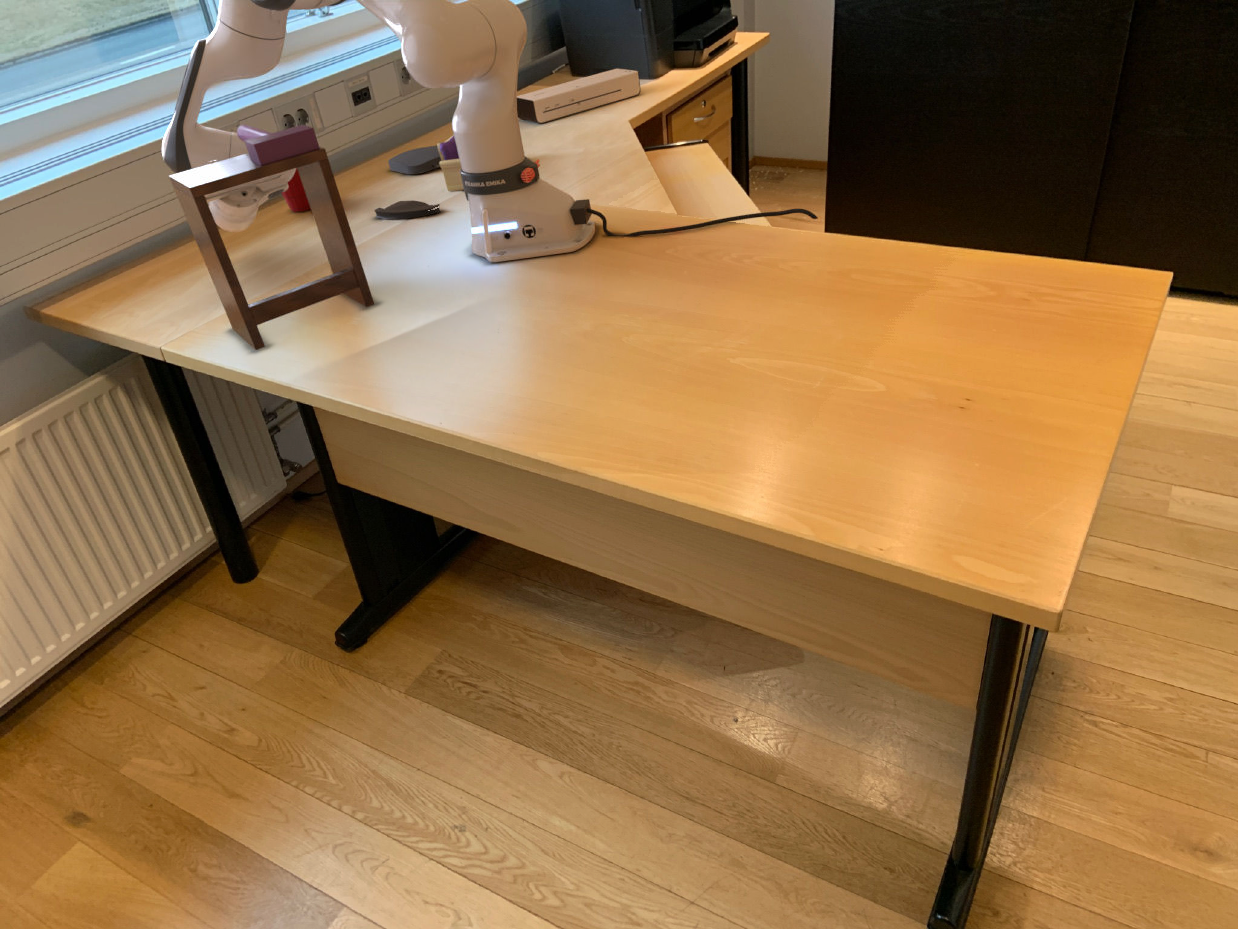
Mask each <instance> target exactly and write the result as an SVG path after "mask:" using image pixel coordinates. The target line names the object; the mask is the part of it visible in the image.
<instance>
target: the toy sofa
mask: <svg viewBox="0 0 1238 929" xmlns="http://www.w3.org/2000/svg"><path fill="white" fill-rule="evenodd" d="M436 146H437V147H438V151H439V154H440V157H441V160H442V161H440V167H439V168H441V170H442V175H443V177H444V178H443V179H444V181H445V185H446V190H447V191H448V192H456V191H464V189H463V185H462V179H461V174H460V170H461V168H462V167H461V163H460V159H459V155H458V150H457V146H456V142H455V138H454V134H452V135H451V136H450V137H449V138H448V139H446V140H445V141H444V142H442V141H440V142H438V143H437V145H436Z"/></svg>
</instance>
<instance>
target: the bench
mask: <svg viewBox="0 0 1238 929" xmlns="http://www.w3.org/2000/svg"><path fill="white" fill-rule="evenodd" d="M319 147H320V149H317V150H313V151H310V152H306V153H303V154H299V155H296V156H293V157H289V158H286V159H282V160H279V161H276V162H272V163H269V164H265V165H262V166H261V165H259V164H256V163H254V162H252V161H251V158H250V156H249V153H248V154H244V155H240V156H237V157H233V158H230V159H226V160H223V161H219V162H216V163H212V164H209V165H205V166H202V167H198V168H195V169H191V170H188V171H184V172H181V173H177V174H175V173H174V174H170V175H168V178H169V181H170V184H171V185H172V188H173V190H174V193H175V194H176V197H177V200H178V202H179V204H180V207H181V209H182V212H183V214H184V216H185V219H186V221H187V223H188V225H189V228H190V230H191V233H192V235H193V237H194V240H195V242H196V245H197V247H198V249H199V252H200V254H201V256H202V260H203V262H204V263H205V266H206V269H207V271H208V273H209V276H210V278H211V281H212V283H213V285H214V287H215V290H216V293H217V295H218V297H219V299H220V302H221V304H222V306H223V309H224V311H225V314H226V316H227V319H228V321H229V323H230V327H231V328H232V330H233V332H235V333H236V334H237V335H238V336H239V337H241V338H242V339H243V340H244V341H245V342H246V343H247V344H248V345H250V346H251V348H252V349H254V350H255V351H257V350H260V349H263V348H265V347H266V345H265V342H264V339H263V337H262V335H261V333H260V330H259V328H258V326H259V325H261V324H265V323H267V322H270V321H273V320H275V319H278V318H281V317H283V316H285V315H288V314H291V313H294V312H296V311H299V310H302V309H305V308H307V307H310V306H312V305H315V304H318V303H321V302H324V301H327V300H329V299H331V298H334V297H336V296H339V295H342V294H344V295H345V296H347V297H348V298H350V299H352V300H353V301H355V302H357V303H358V304H360V305H361V306H363V307H364V308H369V307H372V306H375V301H374V298H373V295H372V292H371V289H370V285H369V282H368V279H367V276H366V273H365V270H364V267H363V264H362V261H361V260H362V259H361V257H360V254H359V251H358V247H357V245H356V241H355V239H354V236H353V232H352V229H351V226H350V223H349V220H348V217H347V214H346V210H345V207H344V204H343V201H342V197H341V194H340V192H339V188H338V185H337V182H336V179H335V176H334V172H333V170H332V167H331V163H330V160H329V156H328V154H327V151H326V148H325V147H322V146H319ZM295 168H297V169H298V172H299V175H300V178H301V181H302V184H303V187H304V190H305V193H306V196H307V199H308V202H309V205H310V208H311V209H310V210H311V214H312V216H313V219H314V222H315V225H316V228H317V231H318V233H319V237H320V240H321V243H322V246H323V249H324V252H325V254H326V258H327V261H328V263H329V266H330V269H331V273H332V274H328V275H326V276H323V277H320V278H318V279H314V280H313V281H309V282H307V283H304V284H301V285H298V286H296V287H293V288H289V289H287V290H285V291H281V292H279V293H276V294H273V295H271V296H267V297H264V298H262V299H260V300H257V301H254V302H252V303H249V302H248V300H247V298H246V295H245V292H244V290H243V288H242V285H241V283H240V280H239V277H238V275H237V273H236V269H235V268H234V266H233V263H232V260H231V257H230V255H229V253H228V251H227V248H226V246H225V243H224V240H223V239H222V235H221V233H220V231H219V228H218V225H217V224H216V223H215V221H214V218H213V216H212V213H211V211H210V208H209V202H207V201H206V198H205V196H204V195H208V194H211V193H214V192H218V191H221V190H224V189H228V188H231V187H234V186H238V185H241V184H244V183H248V182H251V181H254V180H258V179H261V178H264V177H268V176H271V175H274V174H278V173H281V172H285V171H288V170H291V169H295Z"/></svg>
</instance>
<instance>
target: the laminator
mask: <svg viewBox="0 0 1238 929" xmlns="http://www.w3.org/2000/svg"><path fill="white" fill-rule="evenodd" d="M640 93H641V81H640V73H639V71H638V70H633V69H627V68H626V69H625V68H618V67H617V68H614V69H610V70H606V71H602V72H599V73H596V74H592V75H589V76H584V77H581V78H577V79H573V80H570V81H566V82H563V83H560V84H556V85H552V86H549V87H545V88H540V89H537V90H534V91H531V92H527V93H523V94H520V95H517V114H518V120H519V119H520V120H526V121H530V122H533V123H537V124H541V125H542V124H546V123H549V122H553V121H556V120H559V119H563V118H566V117H569V116H570V117H571V116H573V115H576V114H577V115H578V114H580V113H584V112H586V111H589V110H594V109H597V108H600V107H604V106H608V105H611V104H615V103H617V102H621V101H624V100H627V99H631V98H634V97H637V96H638V95H640Z"/></svg>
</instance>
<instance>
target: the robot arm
mask: <svg viewBox="0 0 1238 929" xmlns="http://www.w3.org/2000/svg"><path fill="white" fill-rule="evenodd" d="M355 1H356V2H357V3H358V4H359V5H360V6H362V7H363V8H365V9H366V10H367V11H369V12H370V13H371V14H372V15H373V16H374V17H376V18H377V19H378V20H380V21H381V22H382V23H383V24H385V25H386V26H387V28H389V29H390V31H392V33H393V34H394V35H395V36H396V38H397V39H398V41H399V42H400V51H401V52H400V53H401V58H402V61H403V64H404V67H405V69H406V71H407V73H408V74H409V75H410V77H411V78H412V79H413V80H414V81H415V82H416V83H418V85H420V86H422V87H424V88H426V89H429V90H430V89H431V90H437V89H438V90H441V89H453V88H457V87H459V93H458V94H459V95H458V100H457V101H458V102H457V106H456V108H455V111H454V112H453V115H452V120H451V129H452V133H453V134H452V135H454V138H455V142H456V146H457V150H458V155H459V159H460V163H461V167H462V168H461V170H460V174H461V179H462V185H463V189H464V190H463V192H464V195H465V198H466V202H468V206H469V214H470V223H471V228H470V230H471V248H470V249H471V252H472V253H473V254H474V255H477V256H479V257H483V258H485V259H486V260H487V261H488V262H490V263H500V262H506V261H514V260H522V259H529V258H535V257H536V258H537V257H544V256H551V255H552V256H553V255H558V254H559V255H560V254H564V253H565V254H566V253H573V252H575V251H578V250H579V249H581V248H584V246H586V245H587V244H588V243H589V242H590V241H591V240H592V238H593V237H594V235H595V233H596V226H595V223H594V220H592V219H591V217H592V215H594V216H596V217H598V218H600V219H601V221H602V230H603V232H604V234H606V235H607V236H608V237H620V238H621V237H623V238H634V237H639V236H640V237H641V236H649V235H660V234H661V235H662V234H670V233H677V232H684V231H689V230H695V229H700V228H705V227H710V226H714V225H720V224H725V223H730V222H735V221H741V220H742V221H743V220H750V219H756V218H766V217H767V218H768V217H781V216H785V215H791V214H804V215H806V216H808V217H809V218H811V219H812V220H818V218H819V217H818V216H817V215H816V214H815V213H813V212H812V211H810V210H808V209H804V208H791V209H790V208H789V209H785V210H779V211H778V210H777V211H766V212H755V213H748V214H741V215H736V216H729V217H723V218H719V219H714V220H709V221H705V222H699V223H695V224H689V225H683V226H682V225H681V226H676V227H668V228H662V229H649V230H648V229H647V230H638V231H634V232H630V233H627V234H614V233H613V232H611V231H609V230H608V222H607V221H608V220H607V218H606V216H605V215H604V214H603V213H602V212H600V211H598V210H595V209H593V208H591V202H590V199H589V198H587V199H586V198H585V199H576V200H575V199H574V198H573V197H572V196H571V195H570V194H569V193H567V192H565V191H563V190H561V189H560V188H558V187H556V186H554V185H553V184H551V183H549V182H547V181H546V180H544V179H543V178H541V177H540V171H539V167H540V166H541V164H540V160H539V159H537V160H536V161H533V160H532V159H530V158H529V157H527V156H526V155H525V149H524V145H523V144H524V143H523V140H522V135H521V129H520V128H521V127H520V121H519V118H518V114H517V96H518V76H519V68H520V67H519V66H520V61H521V57H522V53H523V51H524V49H525V46H526V43H527V40H528V26H527V22H526V19H525V17H524V15H523V12H522V11H521V9H520V8H519V7H518V6H517V5H516V4H515V3H514V2H513V1H512V0H465V1H461V2H458V3H457V2H452V1H449V0H355ZM345 2H347V0H219V3H218V12H217V13H218V14H217V21H216V25H215V27H214V28H213V30H212V32H211V33H210V34H209V36H207V37H206V38H202V39H198V40H197V41H196V43H195V44H194V45H193V48H192V50H191V53H190V56H189V59H188V63H187V66H186V68H185V71H184V74H183V78H182V81H181V85H180V89H179V93H178V96H177V101H176V103H175V108H174V112H173V115H172V118H171V121H170V123H169V125H168V127H167V129H166V131H165V133H164V136H163V139H162V143H161V154H162V158H163V162H164V163H165V165H166V166H167V167H168V168H169V169H170V170H171V171H172V172H173V173H174V174H177V173H181V172H184V171H188V170H191V169H195V168H198V167H202V166H205V165H209V164H212V163H216V162H219V161H223V160H226V159H230V158H233V157H237V156H240V155H244V154H248V150H247V147H246V145H245V142H244V141H242V140H241V139H239V137H238V135H237V132H234V131H227V130H222V129H218V128H214V127H210V126H205V125H202V124H201V123H200V122H198V118H199V116H200V112H201V108H202V105H203V102H204V99H205V95H206V93H207V91H208V90H209V89H210V88H212V86H213V85H216V84H220V83H223V82H229V81H236V80H247V79H248V80H249V79H255V78H258V77H261V76H263V75H266V74H268V73H270V72H271V71H272V70H274V69H275V68H276V67H277V65H278V64H279V63H280V60H281V57H282V54H283V49H284V45H285V40H286V33H287V25H288V24H287V22H288V15H289V12H290V11H299V10H300V11H301V10H302V11H303V10H305V11H310V10H316V9H317V10H318V9H321V8H326V7H335V6H338V5H341V4H343V3H345ZM295 171H296V168H295V169H291V170H288V171H285V172H281V173H278V174H274V175H271V176H268V177H264V178H261V179H258V180H254V181H251V182H248V183H244V184H241V185H238V186H234V187H231V188H228V189H224V190H221V191H218V192H214V193H211V194H208V195H204V196H205V198H206V201H207V203H208V206H209V208H210V211H211V213H212V216H213V218H214V221H215V223H216V225H217V227H219V228H220V229H222V230H224V231H226V232H229V233H230V232H231V233H239V232H244V231H245V230H247V229H249V227H250V226H251V225H252V224H253V223H254V221H255V219H256V217H257V215H258V212H259V208H260V206H261V205H263V204H264V203H266V202H267V201H268V200H270V199H272V198H274V197H276V196H278V195H280V194H281V195H282V192H284V191H286V190H287V189H288V188H289V186H288V183H287V182H289V181H290V180H291V179H292V177H293V176H294V173H295Z"/></svg>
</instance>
